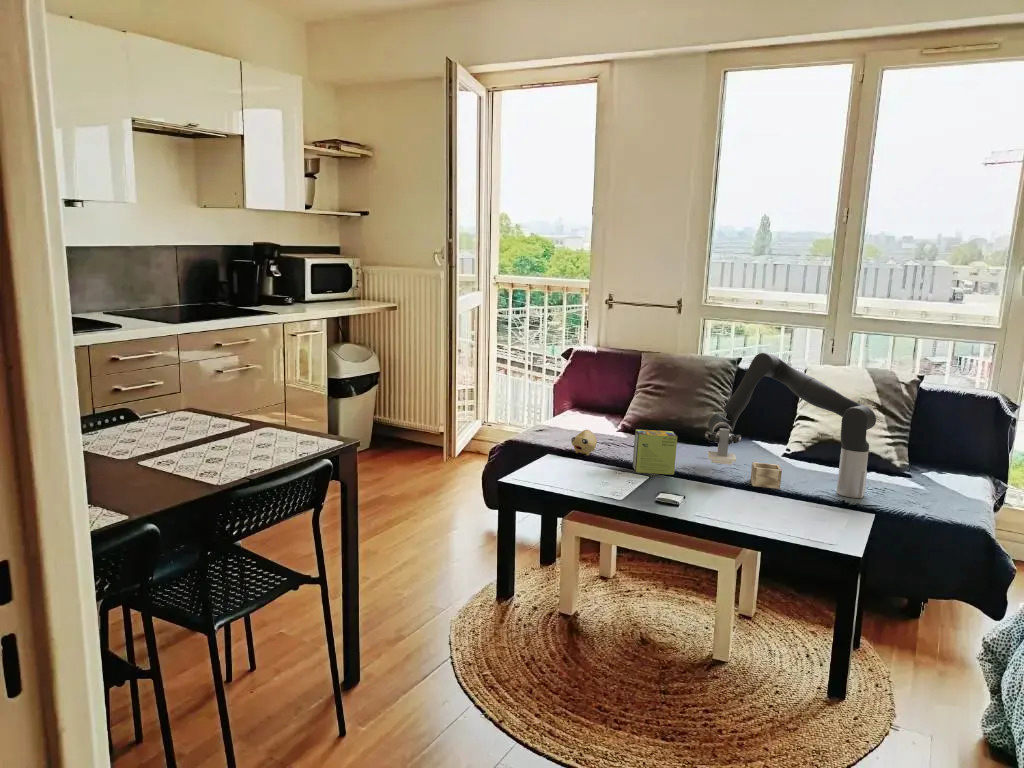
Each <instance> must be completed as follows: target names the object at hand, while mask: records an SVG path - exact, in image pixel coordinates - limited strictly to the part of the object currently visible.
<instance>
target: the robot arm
mask: <svg viewBox="0 0 1024 768" xmlns="http://www.w3.org/2000/svg"><path fill="white" fill-rule="evenodd" d="M764 377H768V378H771V379H773V380H776V381H777V382H780V383H781V384H782V385H784V386H785V387H787V388H788V389H789V390H790V391H791V392H792V393H793V394H794V395H796V396H797V397H798V398H800V399H801V400H803V401H804V402H806V403H808V404H810V405H812V406H814V407H815V408H819V409H822V410H824V411H825V410H826V411H828V412H831V413H834V414H836V415H838V416H840V417H841V425H840V442H841V449H840V456H839V464H838V465H839V466H838V475H837V484H836V491H835V492H836V494H837V495H839V496H843V497H847V498H855V499H863V497H865V493H866V484H867V483H866V482H867V475H868V470H867V467H868V460H869V459H868V458H869V450H870V444H869V442H868V441H867V431H868V430H870V429H873V428H874V427H875V425H876V423H877V416H876V414H875V412H874V411H873V410H872V409H871V408H870V407H869V406H866V405H864V404H862V403H860V402H856V401H855V400H854V399H853V400H852V399H851V398H848V397H846V396H844V395H843V394H842V393H840V392H838V391H836V390H835V389H833V388H831V387H830V386H828V385H827V384H826V383H824V382H822V381H820V380H819V379H817V378H815V377H812V376H811V375H808V373H807V374H806V373H805V372H803V371H800V370H797V369H796V368H794V367H792V366H791V365H789V364H788V363H787V362H785V361H784V360H782V359H781V358H780V357H778V356H777V355H775V354H772V353H768V352H759V353H758V354H756V355H755V356H754V358H753V359H752V361H751V363H750V364H749V367H748V368H747V371H746V373H745V374H744V376H743V378H742V380H741V381H740V383H739V385H738V386H737V388H736V390H735V392H734V393H733V394H732V395H731V397H730V398H729V400H728V401H726V404H725V405H724V407H723V411H724V412H725V414H726V415H728V417H729V419H730V420H729V419H728V418H726V417H724V416H723V415H721V414H719V413H715V414H713V415H711V416H710V418H709V419H708V424H707V426H708V428H709V430H710V431H705V439H707V440H709V441H710V442H713V441H714V442H715V443H716V444H718V443H719V439H720V437H719V431H720V428H723V429H729V430H730V433H729V441H728V446H730V445H731V444H738V443H739V442H741V440H742V434H736V435H735V434H734V433H733V432H734V429H735V426H736V423H737V421H738V419H739V417H741V416H740V415H741V413H743V411H744V410H745V409H746V407H747V405H748V404H750V403H749V402H750V401H751V399H752V395H753V393H754V390H755V388H756V386H757V384H758V383H759V382H760V381H761V380H762V379H763V378H764Z"/></svg>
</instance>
